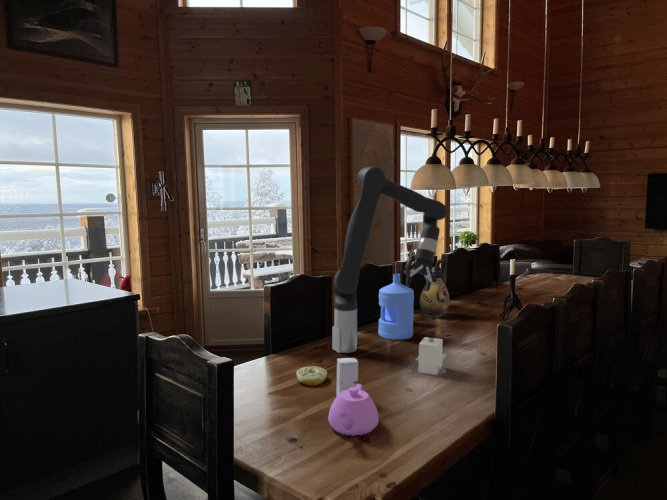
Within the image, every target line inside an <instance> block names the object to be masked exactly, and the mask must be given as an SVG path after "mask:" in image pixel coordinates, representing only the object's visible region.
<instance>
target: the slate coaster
mask: <svg viewBox="0 0 667 500" xmlns="http://www.w3.org/2000/svg"><path fill="white" fill-rule="evenodd" d="M418 367H419V365H417V366H416V367H414V371H416V372H417V373H418ZM446 373H447V370H446V369H445V368H444V367H442V368H441V369H440V371H439V373H438V374H437V375H432V374H425V373H419V374H421V375H425V376H433V377H434V376H441V375H445V374H446Z"/></svg>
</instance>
